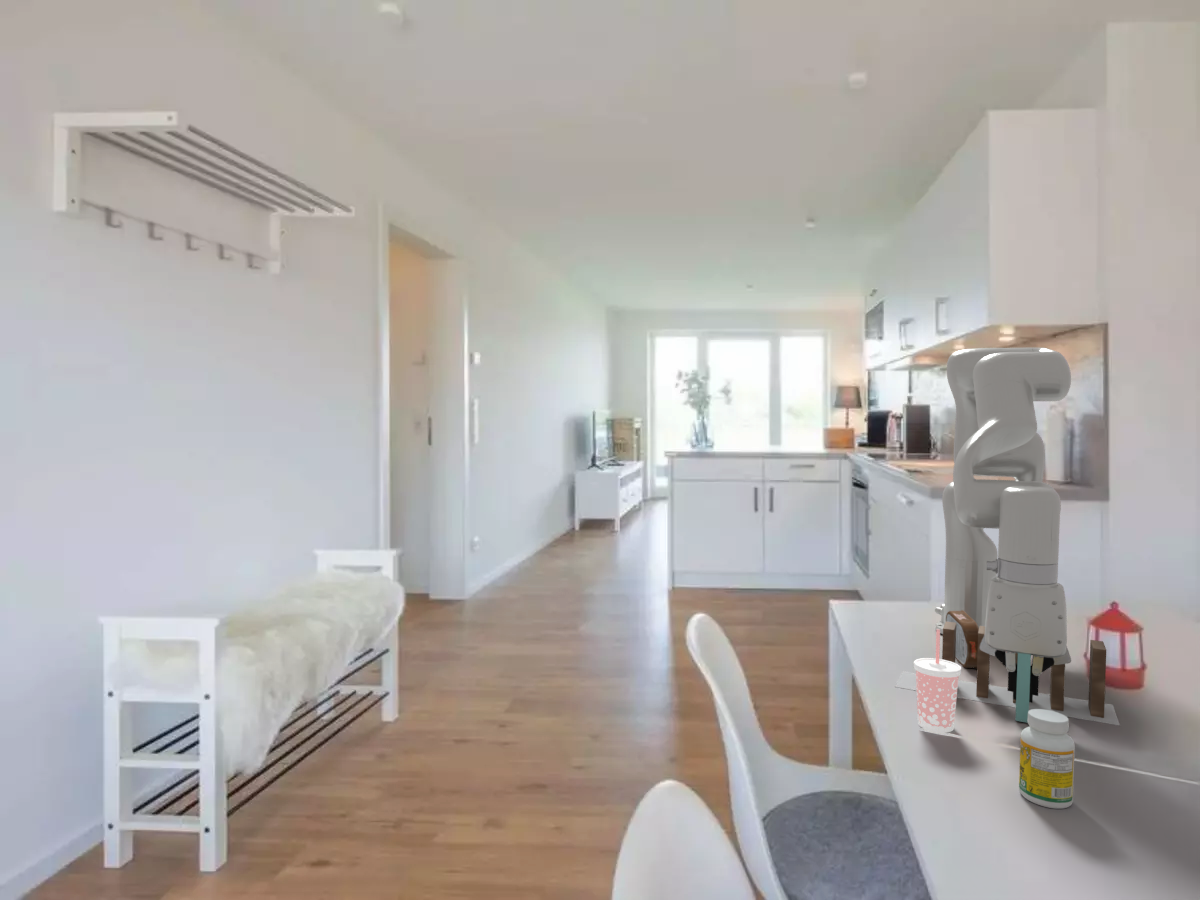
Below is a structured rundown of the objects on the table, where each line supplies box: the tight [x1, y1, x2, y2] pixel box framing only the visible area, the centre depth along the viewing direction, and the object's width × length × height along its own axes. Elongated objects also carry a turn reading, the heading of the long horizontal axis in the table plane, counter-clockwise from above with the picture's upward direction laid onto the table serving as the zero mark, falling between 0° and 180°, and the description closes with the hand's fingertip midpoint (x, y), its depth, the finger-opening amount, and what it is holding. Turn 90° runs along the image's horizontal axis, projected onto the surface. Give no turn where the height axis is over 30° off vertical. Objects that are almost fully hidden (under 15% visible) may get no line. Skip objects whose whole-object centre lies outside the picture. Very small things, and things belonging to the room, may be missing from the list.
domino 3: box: [1014, 653, 1032, 724], centre depth 108 cm, size 2×5×10 cm, turn 150°
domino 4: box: [1049, 664, 1066, 711], centre depth 113 cm, size 2×5×10 cm, turn 151°
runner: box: [894, 670, 1120, 726], centre depth 117 cm, size 30×9×1 cm, turn 61°
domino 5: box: [1087, 639, 1107, 718], centre depth 111 cm, size 2×5×10 cm, turn 151°
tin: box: [946, 610, 979, 669], centre depth 135 cm, size 15×3×8 cm, turn 168°
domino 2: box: [976, 626, 991, 698], centre depth 118 cm, size 2×5×10 cm, turn 151°
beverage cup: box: [913, 629, 962, 735], centre depth 105 cm, size 6×6×14 cm
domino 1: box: [941, 622, 956, 663], centre depth 121 cm, size 2×5×10 cm, turn 151°
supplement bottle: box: [1018, 709, 1076, 810], centre depth 85 cm, size 5×5×10 cm
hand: (1022, 697), depth 108 cm, fingers closed on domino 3, 1 cm apart
